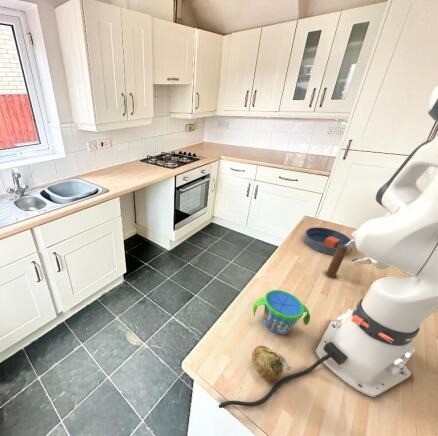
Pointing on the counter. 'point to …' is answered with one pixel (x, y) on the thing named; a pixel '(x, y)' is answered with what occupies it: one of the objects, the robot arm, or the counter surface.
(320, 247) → the bowl
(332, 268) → the stick
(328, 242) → the block
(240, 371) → the counter surface
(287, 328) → the snack cup
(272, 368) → the onion
